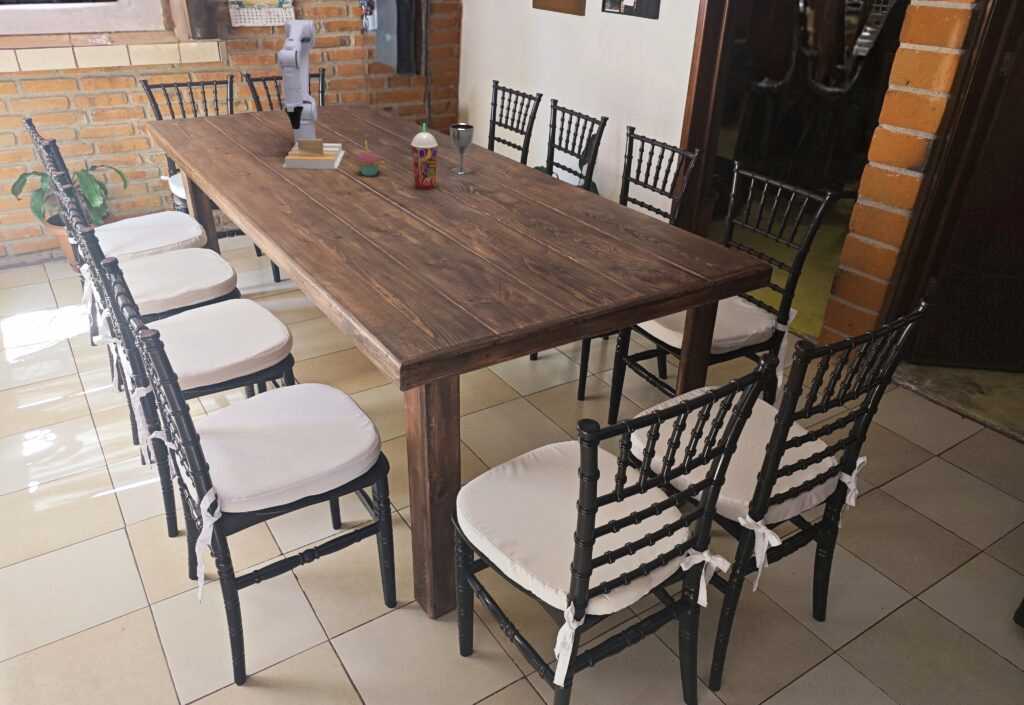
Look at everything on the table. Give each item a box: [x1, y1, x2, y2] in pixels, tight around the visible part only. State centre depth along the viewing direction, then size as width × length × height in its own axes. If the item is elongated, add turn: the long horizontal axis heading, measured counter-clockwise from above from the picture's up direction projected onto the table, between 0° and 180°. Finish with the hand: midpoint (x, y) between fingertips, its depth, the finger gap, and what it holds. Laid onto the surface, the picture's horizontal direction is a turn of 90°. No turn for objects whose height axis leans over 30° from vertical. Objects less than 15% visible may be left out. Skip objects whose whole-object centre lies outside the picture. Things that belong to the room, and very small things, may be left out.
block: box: [298, 138, 324, 157], centre depth 255 cm, size 2×8×8 cm, turn 94°
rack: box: [282, 142, 346, 170], centre depth 262 cm, size 22×18×3 cm
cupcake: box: [355, 140, 382, 177], centre depth 248 cm, size 9×8×12 cm
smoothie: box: [410, 122, 439, 190], centre depth 237 cm, size 8×8×20 cm
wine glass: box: [449, 123, 475, 174], centre depth 256 cm, size 8×8×15 cm
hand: (296, 128), depth 260 cm, fingers closed
